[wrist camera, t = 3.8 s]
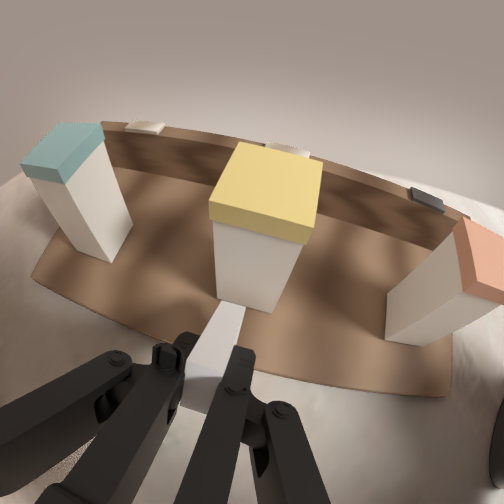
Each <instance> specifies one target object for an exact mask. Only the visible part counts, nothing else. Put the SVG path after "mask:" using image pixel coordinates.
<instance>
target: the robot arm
mask: <svg viewBox="0 0 504 504" xmlns="http://www.w3.org/2000/svg"><path fill="white" fill-rule="evenodd" d="M245 309H246V307H244V306H241V305H237V304H233V303H230V302H226V301H223V300H222V301H221V302H220V304H219V306H218V308H217V309H216V311H215V313H214V314H213V316H212V318H211V319H210V321H209V323H208V324H207V326H206V328H205V330H204V331H203V333H202V335H201V336H200V335H197V334H194V333H191V332H188V331H185V332H183V333H181V334H179V335H178V337H177V338H176V339H175V341H174V342H173V344H170V343H160V344H156V345H155V346H154V347H153V352H152V363H151V364H150V365H141V364H136V363H132V359H131V357H130V356H129V355H128V354H126V353H124V352H122V351H117V350H114V351H108V352H106V353H104V354H102V355H100V356H98V357H96V358H94V359H93V360H91V361H89V362H87V363H85V364H83V365H81V366H79V367H78V368H76V369H74V370H72V371H70V372H68V373H66V374H64V375H63V376H61V377H59V378H57V379H55V380H53V381H51V382H49V383H47V384H45V385H44V386H42V387H40V388H38V389H36V390H34V391H32V392H30V393H28V394H26V395H24V396H22V397H20V398H18V399H16V400H14V401H12V402H11V403H9V404H7V405H5V406H3V407H1V408H0V497H3V496H6V495H9V494H11V493H13V492H15V491H17V490H19V489H21V488H22V487H24V486H25V485H27V484H28V483H30V482H31V481H33V480H34V479H36V478H37V477H39V476H40V475H42V474H43V473H45V472H46V471H48V470H49V469H51V468H52V467H53V466H55V465H56V464H58V463H59V462H61V461H62V460H63V459H65V458H66V457H68V456H69V455H70V454H72V453H73V452H74V451H76V450H77V449H79V448H80V447H81V446H83V445H84V444H85V443H87V442H88V441H89V440H91V439H92V438H93V437H95V436H96V435H97V436H96V437H95V438H94V440H93V441H92V442H91V444H90V445H89V447H88V448H87V449H86V451H85V452H84V453H83V455H82V456H81V457H80V459H79V460H78V461H77V463H76V464H75V466H74V467H73V468H72V470H71V471H70V472H69V474H68V475H67V477H66V478H65V479H64V480H63V481H62V482H61V483H53V484H51V485H49V486H48V487H47V488H46V489H45V490H44V492H43V493H42V494H41V496H40V497H39V498H38V500H37V501H36V502H35V504H132V502H133V500H134V498H135V496H136V494H137V492H138V490H139V488H140V486H141V484H142V482H143V480H144V478H145V476H146V474H147V472H148V470H149V468H150V466H151V464H152V462H153V460H154V458H155V456H156V454H157V452H158V450H159V448H160V446H161V443H162V441H163V439H164V437H165V435H166V433H167V431H168V429H169V427H170V425H171V423H172V421H173V419H174V417H175V415H176V412H177V406H178V404H179V402H180V406H183V407H185V408H188V409H191V410H195V411H198V412H201V413H204V414H207V416H206V419H205V422H204V424H203V427H202V430H201V432H200V435H199V438H198V440H197V443H196V446H195V448H194V451H193V454H192V456H191V459H190V462H189V464H188V467H187V470H186V472H185V475H184V477H183V480H182V483H181V485H180V488H179V491H178V493H177V496H176V498H175V501H174V503H173V504H227V501H228V497H229V493H230V488H231V484H232V479H233V475H234V470H235V466H236V461H237V456H238V452H239V447H240V442H242V443H244V444H246V445H248V446H249V453H250V459H251V465H252V472H253V478H254V484H255V490H256V495H257V501H258V504H331V503H330V500H329V497H328V495H327V492H326V489H325V486H324V484H323V481H322V478H321V475H320V473H319V470H318V467H317V464H316V462H315V459H314V456H313V453H312V451H311V448H310V445H309V442H308V440H307V437H306V434H305V431H304V428H303V426H302V423H301V420H300V417H299V414H298V412H297V410H296V409H295V408H294V407H293V406H292V405H291V404H289V403H286V402H283V401H272V402H270V403H268V404H266V403H264V402H261V401H260V400H258V399H257V398H256V397H254V395H253V394H252V393H251V390H250V386H251V381H252V376H253V370H254V365H255V360H256V355H255V353H254V351H253V350H252V349H248V348H244V347H241V346H237V345H236V344H237V340H238V336H239V332H240V328H241V325H242V321H243V317H244V313H245ZM180 400H181V401H180ZM490 474H491V478H492V481H493V483H494V485H495V486H496V487H497V488H500V489H504V401H503V403H502V406H501V409H500V412H499V415H498V418H497V422H496V425H495V430H494V434H493V439H492V446H491V454H490Z"/></svg>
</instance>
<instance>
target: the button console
mask: <svg viewBox="0 0 504 504" xmlns="http://www.w3.org/2000/svg"><path fill="white" fill-rule="evenodd" d="M100 124H101V126H102V129H103V133H104V136H105V139H104V140H103V141H104V144H105V147H106V150H107V153H108V156H109V159H110V163H111V166H112V168H113V171H114V174H115V177H116V180H117V183H118V186H119V188H120V191H121V194H122V196H123V199H124V202H125V204H126V207H127V210H128V212H129V215H130V217H131V220H132V222H133V226H132V228H131V230H130V231H129V233H128V235H127V237H126V238H125V240H124V242H123V244H122V245H121V247H120V249H119V251H118V253H117V254H116V256H115V258H114V260H113V262H112V263H109V262H106V261H104V260H101V259H98V258H96V257H93V256H90V255H88V254H85V253H82V252H80V251H77V250H76V248H75V247H74V246H73V244H72V243H71V241H70V240H69V239H68V237H67V236H66V234H65V233H64V232H63V230H62V229H61V227H59V229H58V230H57V232H56V233H55V235H54V237H53V238H52V240H51V241H50V243H49V245H48V246H47V248H46V250H45V251H44V253H43V255H42V257H41V258H40V260H39V262H38V264H37V266H36V267H35V269H34V271H33V273H32V275H31V278H33V279H34V280H35V281H36V282H38V283H39V284H41V285H43V286H45V287H46V288H48V289H50V290H52V291H54V292H55V293H57V294H59V295H61V296H63V297H65V298H67V299H69V300H71V301H73V302H75V303H76V304H78V305H80V306H83V307H85V308H87V309H89V310H91V311H93V312H95V313H97V314H99V315H101V316H104V317H106V318H108V319H110V320H112V321H115V322H117V323H119V324H122V325H124V326H126V327H129V328H131V329H133V330H136V331H138V332H141V333H143V334H146V335H148V336H151V337H153V338H156V339H159V340H161V341H164V342H167V343H170V344H173V342H174V341H175V339H176V338H177V337H178V335H179V334H181V333H183V332H185V331H188V332H191V333H194V334H197V335H200V336H201V335H202V333H203V331H204V330H205V328H206V326H207V324H208V323H209V321H210V319H211V318H212V316H213V314H214V313H215V311H216V309H217V308H218V306H219V304H220V302H221V301H222V300H221V299H218V298H217V288H216V273H215V256H214V238H213V220H210V218H209V198H210V196H211V194H212V192H213V190H214V189H215V187H216V185H217V183H218V181H219V179H220V177H221V175H222V173H223V171H224V169H225V167H226V165H227V163H228V162H229V160H230V158H231V156H232V154H233V152H234V150H235V149H236V147H237V145H238V143H239V141H240V142H244V143H249V144H254V145H258V146H263V147H267V148H271V149H275V150H279V151H283V152H287V153H291V154H295V155H299V156H302V157H306V158H310V159H313V160H317V161H320V162H323V167H322V175H321V183H320V190H319V197H318V204H317V211H316V218H315V224H314V229H313V231H312V233H311V236H310V238H309V240H308V242H307V245H303V247H302V249H301V251H300V254H299V256H298V258H297V260H296V263H295V265H294V267H293V269H292V272H291V274H290V276H289V278H288V281H287V283H286V285H285V287H284V289H283V291H282V294H281V296H280V298H279V300H278V302H277V304H276V307H275V309H274V311H273V313H272V314H271V313H267V312H264V311H260V310H256V309H253V308H249V307H246V309H245V313H244V317H243V321H242V325H241V328H240V332H239V336H238V340H237V344H236V345H237V346H241V347H244V348H248V349H252V350H253V351H254V353H255V355H256V360H255V365H254V370H256V371H260V372H264V373H268V374H273V375H277V376H281V377H286V378H290V379H295V380H300V381H304V382H309V383H315V384H320V385H326V386H331V387H337V388H344V389H350V390H358V391H365V392H373V393H382V394H392V395H404V396H420V397H447V396H450V387H451V374H452V333H451V334H449V335H447V336H445V337H443V338H441V339H439V340H437V341H435V342H433V343H431V344H428V345H426V346H424V347H421V346H415V345H409V344H404V343H398V342H393V341H388V340H385V328H386V311H387V293H389V292H390V291H391V290H392V289H393V288H394V287H396V286H397V285H398V284H399V283H400V282H401V281H402V280H403V279H404V278H406V277H407V276H408V275H409V274H410V273H411V272H412V271H413V270H414V269H415V268H416V267H417V266H419V265H420V264H421V263H422V262H423V261H424V260H425V259H426V258H427V257H428V256H429V255H430V254H431V253H432V252H433V251H434V250H435V249H436V248H437V247H438V246H439V245H440V244H441V243H442V242H443V241H444V240H445V239H446V238H447V237H448V236H449V234H450V233H451V232H452V228H453V227H454V226H455V225H456V224H457V222H458V221H459V220H460V219H461V218H462V217H465V218H467V219H469V220H471V219H470V217H469V216H467V215H465V214H463V213H461V212H459V211H457V210H455V209H453V208H451V207H449V206H446V205H444V204H443V201H442V200H441V199H439V198H436V197H434V196H432V195H430V194H427V193H425V192H423V191H421V190H418V189H416V188H413V187H411V188H410V189H407V188H405V187H402V186H400V185H397V184H395V183H392V182H389V181H387V180H384V179H381V178H379V177H376V176H373V175H370V174H367V173H365V172H362V171H359V170H356V169H353V168H350V167H347V166H343V165H340V164H337V163H334V162H331V161H327V160H324V159H320V158H317V157H314V156H310V152H309V151H305V150H302V149H298V148H294V147H290V146H286V145H282V144H278V143H274V142H270V141H267V143H266V144H262V143H258V142H253V141H249V140H245V139H239V138H235V137H229V136H224V135H218V134H213V133H207V132H201V131H195V130H188V129H181V128H173V127H165V124H164V123H158V122H148V121H136V120H132V121H131V122H130V123H123V122H107V121H106V122H105V121H102V122H101V123H100ZM223 301H225V300H223ZM226 302H228V301H226ZM230 303H231V302H230ZM233 304H235V303H233ZM237 305H238V304H237ZM241 306H242V305H241ZM244 307H245V306H244Z"/></svg>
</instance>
